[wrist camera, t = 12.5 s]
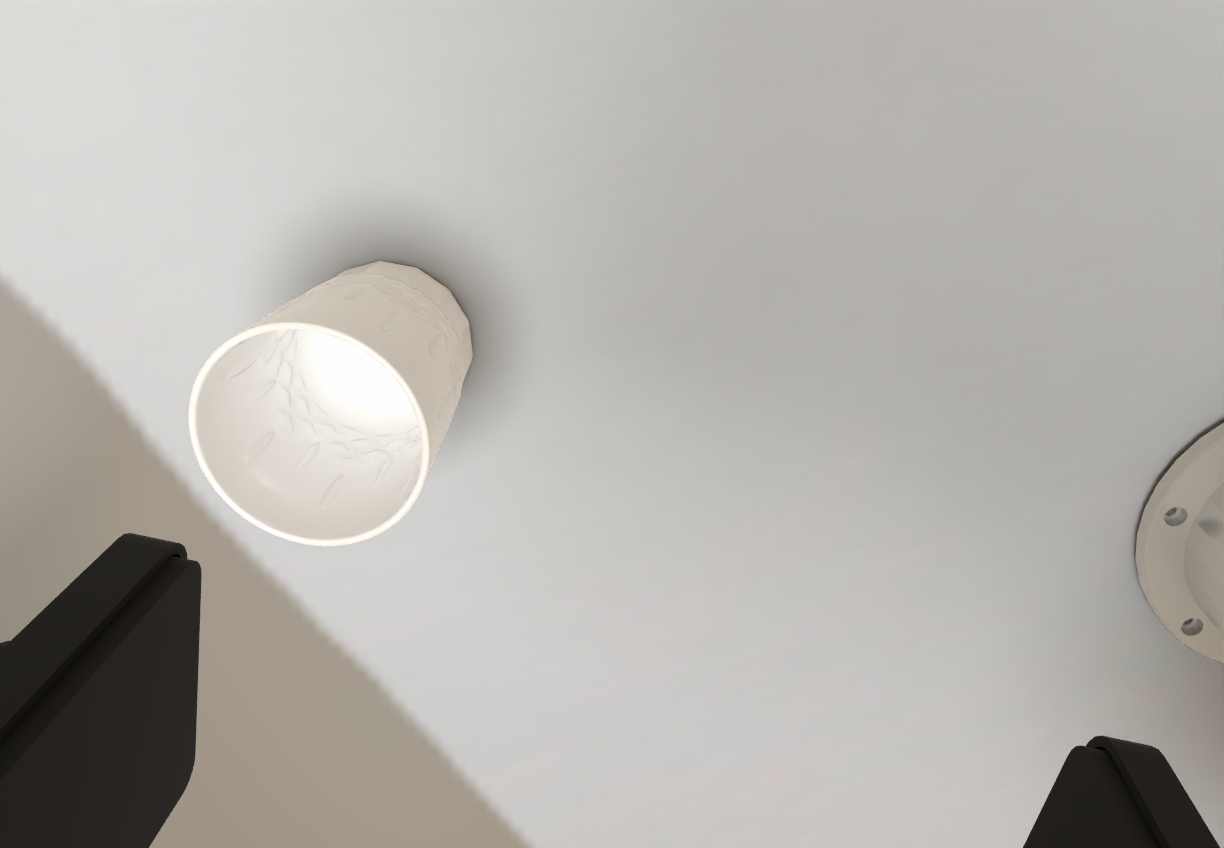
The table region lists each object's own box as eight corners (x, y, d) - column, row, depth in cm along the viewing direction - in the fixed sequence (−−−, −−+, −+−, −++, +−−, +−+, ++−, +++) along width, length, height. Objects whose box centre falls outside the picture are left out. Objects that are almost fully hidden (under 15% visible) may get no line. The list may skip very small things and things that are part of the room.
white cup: (497, 425, 43) (443, 545, 34) (316, 430, 44) (216, 548, 34) (476, 241, 40) (411, 318, 31) (283, 249, 40) (161, 326, 31)
